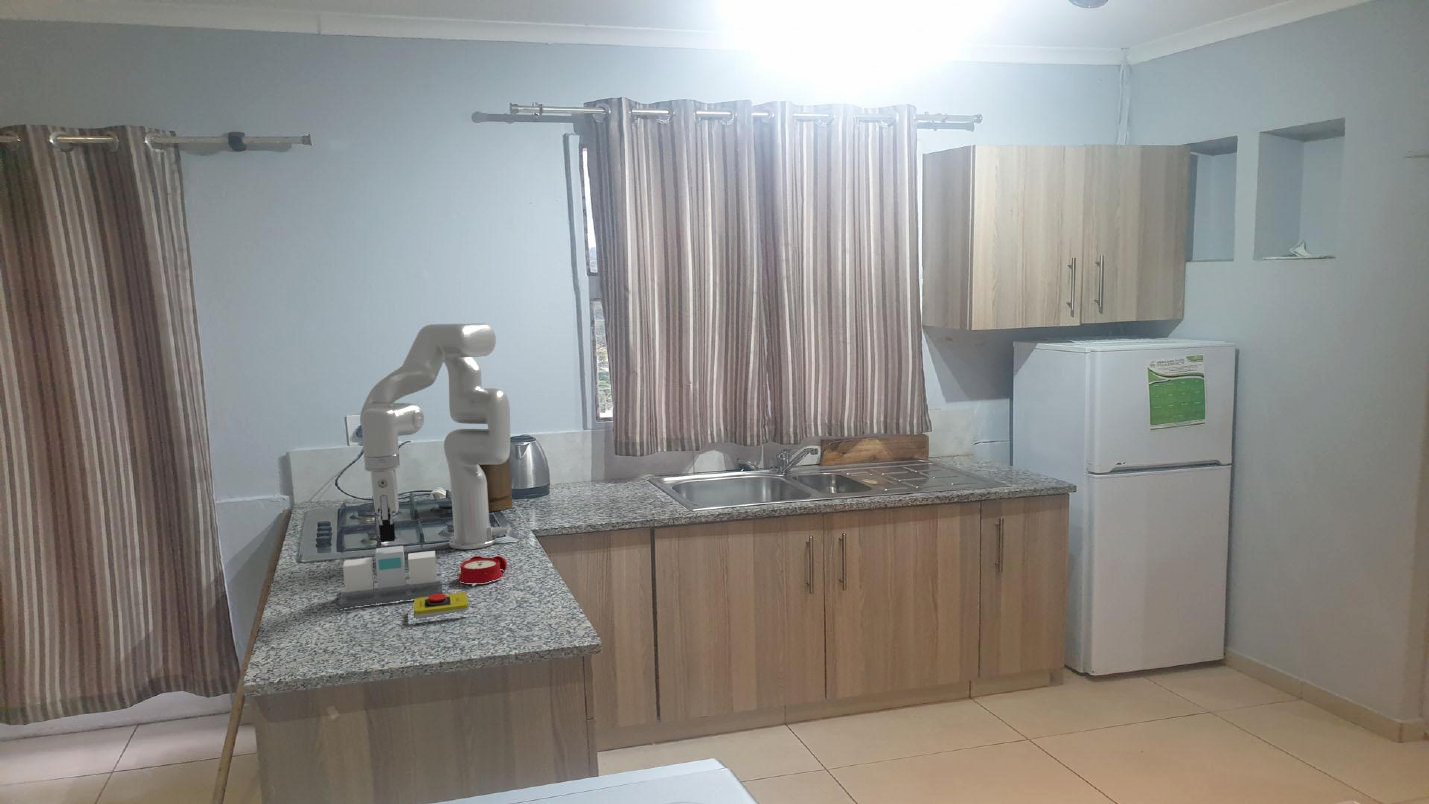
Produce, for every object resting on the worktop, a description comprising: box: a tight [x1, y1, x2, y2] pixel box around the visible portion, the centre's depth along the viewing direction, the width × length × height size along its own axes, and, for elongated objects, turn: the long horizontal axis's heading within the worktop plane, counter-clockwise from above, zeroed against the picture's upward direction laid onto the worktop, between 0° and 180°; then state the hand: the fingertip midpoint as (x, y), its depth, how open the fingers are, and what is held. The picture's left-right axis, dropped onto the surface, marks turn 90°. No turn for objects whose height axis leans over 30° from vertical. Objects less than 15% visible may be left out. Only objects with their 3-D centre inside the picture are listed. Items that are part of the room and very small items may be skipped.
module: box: [375, 545, 407, 588], centre depth 223 cm, size 6×5×8 cm
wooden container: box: [478, 456, 513, 513], centre depth 303 cm, size 15×15×22 cm
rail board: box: [339, 572, 444, 610], centre depth 224 cm, size 22×14×2 cm, turn 107°
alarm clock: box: [456, 555, 508, 583], centre depth 235 cm, size 10×6×15 cm
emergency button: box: [413, 592, 469, 619], centre depth 210 cm, size 9×4×15 cm
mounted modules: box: [342, 550, 438, 592], centre depth 223 cm, size 20×5×6 cm, turn 107°
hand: (387, 540), depth 222 cm, fingers closed
